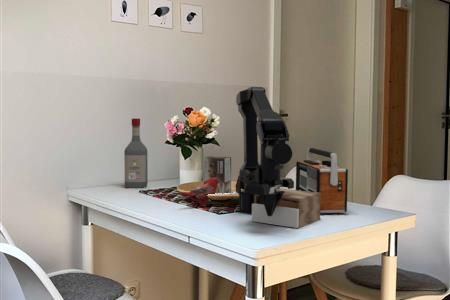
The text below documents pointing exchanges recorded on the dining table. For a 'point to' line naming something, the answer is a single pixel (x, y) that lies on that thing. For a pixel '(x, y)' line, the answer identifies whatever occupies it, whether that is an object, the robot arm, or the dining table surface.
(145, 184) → the liquor
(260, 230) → the dining table surface
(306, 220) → the box
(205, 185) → the decorative bird figurine
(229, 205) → the dining table surface
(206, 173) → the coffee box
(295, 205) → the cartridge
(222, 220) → the dining table surface
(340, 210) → the radio cassette player
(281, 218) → the tray
